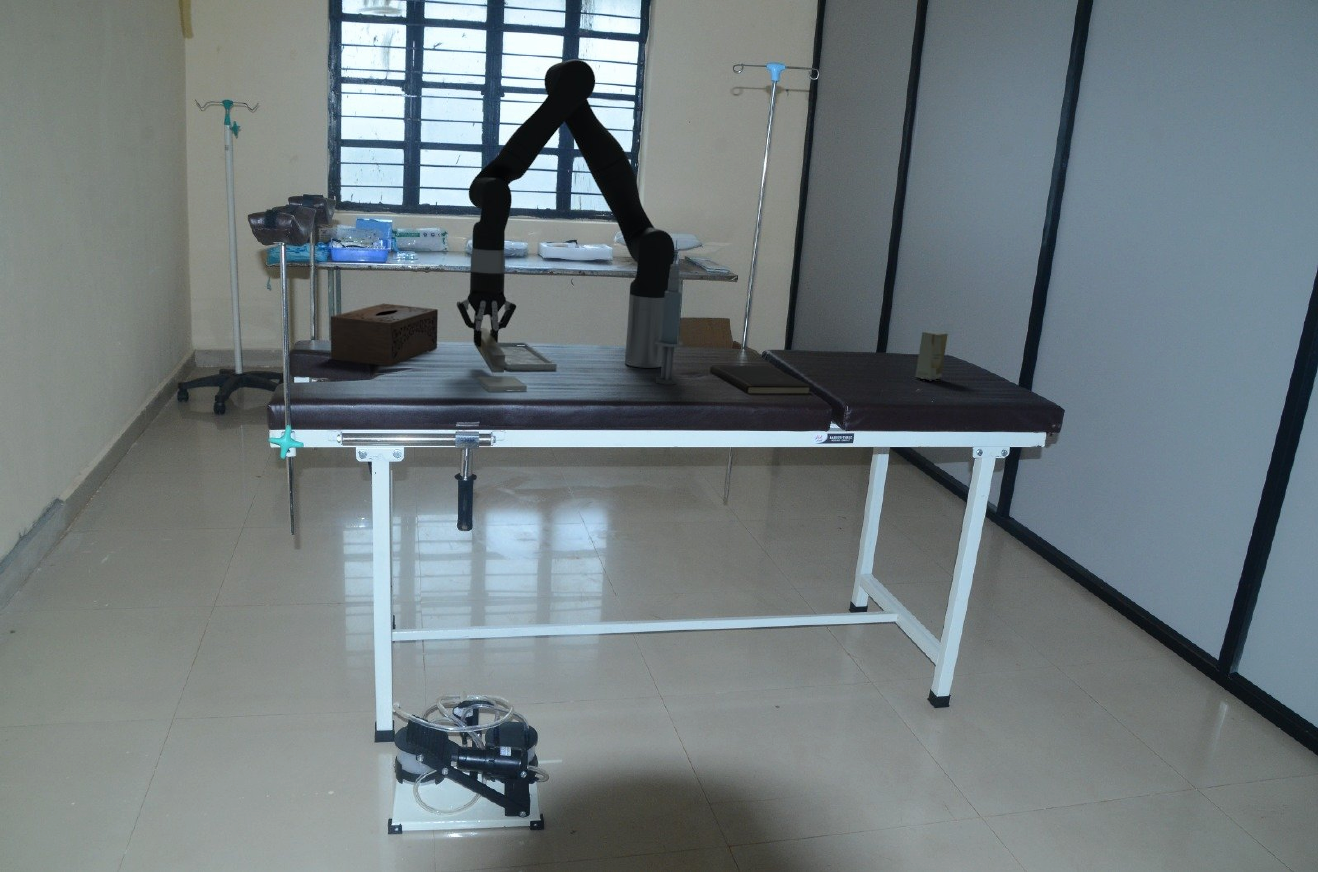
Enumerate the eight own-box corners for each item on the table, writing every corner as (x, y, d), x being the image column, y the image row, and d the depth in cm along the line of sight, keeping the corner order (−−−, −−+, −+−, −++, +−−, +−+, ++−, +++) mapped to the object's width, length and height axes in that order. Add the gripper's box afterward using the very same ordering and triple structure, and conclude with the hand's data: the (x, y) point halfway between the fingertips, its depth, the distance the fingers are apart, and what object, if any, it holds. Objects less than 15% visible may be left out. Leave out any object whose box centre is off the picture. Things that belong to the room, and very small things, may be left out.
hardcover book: (768, 374, 256) (769, 365, 255) (810, 395, 235) (811, 386, 234) (709, 374, 251) (710, 365, 250) (746, 395, 230) (747, 385, 229)
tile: (514, 376, 224) (526, 385, 215) (513, 383, 224) (526, 393, 216) (478, 376, 221) (489, 386, 212) (477, 383, 221) (489, 394, 212)
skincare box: (929, 382, 259) (936, 334, 256) (914, 379, 262) (921, 331, 259) (941, 379, 264) (948, 332, 260) (926, 376, 266) (933, 330, 263)
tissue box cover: (390, 367, 230) (390, 323, 227) (331, 360, 232) (330, 316, 230) (436, 349, 254) (437, 309, 252) (383, 343, 257) (383, 303, 254)
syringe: (666, 378, 239) (676, 228, 229) (682, 384, 234) (693, 231, 224) (647, 380, 236) (656, 228, 226) (662, 386, 231) (673, 230, 221)
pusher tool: (485, 344, 237) (486, 328, 235) (503, 372, 222) (505, 355, 220) (474, 344, 236) (475, 328, 234) (492, 372, 221) (493, 355, 219)
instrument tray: (525, 348, 263) (525, 342, 263) (556, 370, 238) (556, 364, 238) (480, 348, 258) (480, 342, 258) (507, 370, 234) (507, 364, 234)
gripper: (514, 268, 233) (511, 343, 237) (452, 266, 227) (451, 343, 232) (522, 272, 226) (519, 349, 231) (459, 270, 221) (458, 349, 225)
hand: (485, 346), depth 231 cm, fingers closed on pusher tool, 2 cm apart
